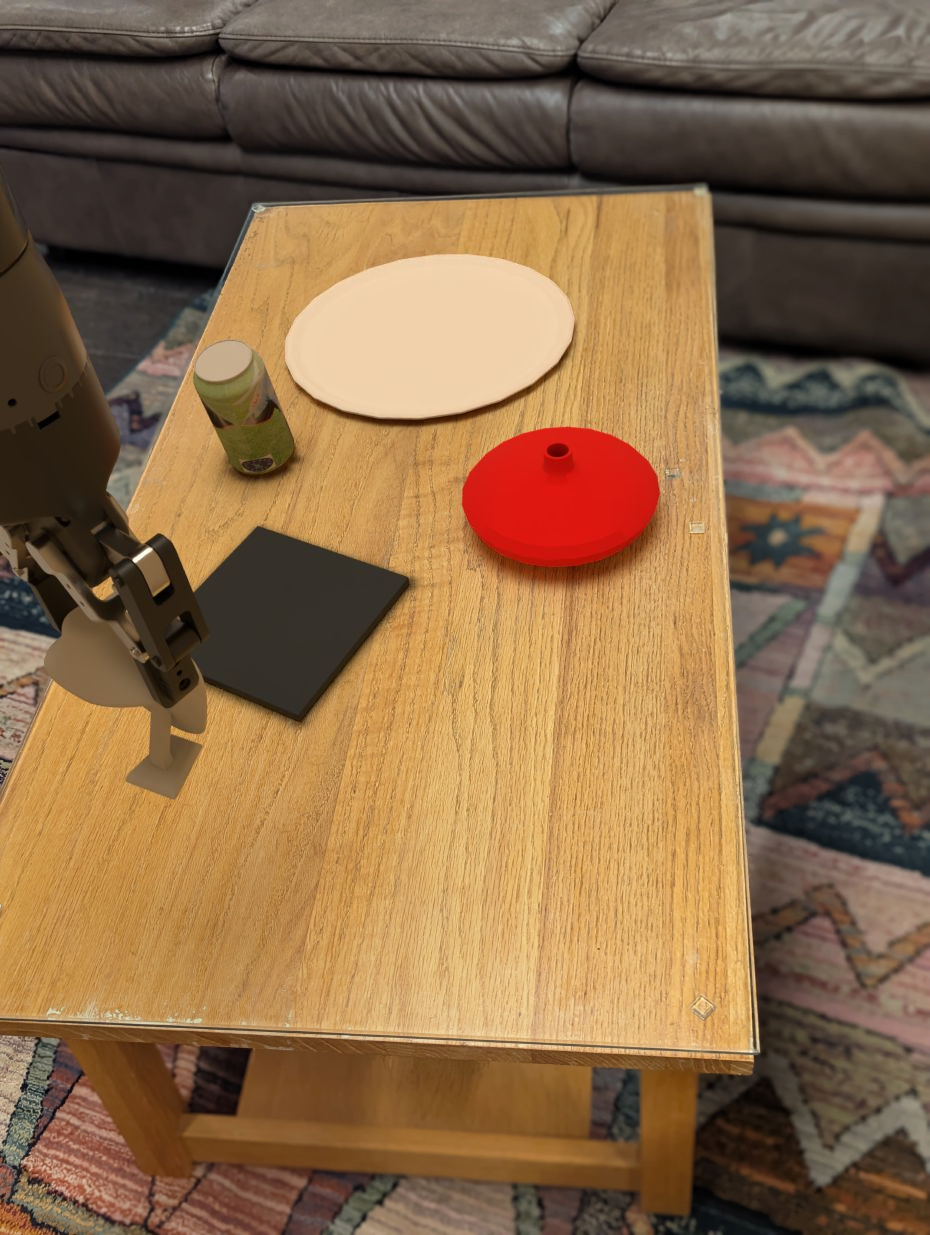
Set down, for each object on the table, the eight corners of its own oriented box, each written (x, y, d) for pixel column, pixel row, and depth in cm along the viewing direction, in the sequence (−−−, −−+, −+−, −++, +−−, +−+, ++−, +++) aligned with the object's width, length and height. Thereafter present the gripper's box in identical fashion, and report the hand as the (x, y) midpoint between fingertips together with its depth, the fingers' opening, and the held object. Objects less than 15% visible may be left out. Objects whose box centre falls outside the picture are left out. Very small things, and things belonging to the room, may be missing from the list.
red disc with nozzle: (479, 455, 95) (472, 388, 90) (662, 458, 92) (665, 389, 87) (450, 583, 84) (440, 515, 79) (655, 591, 81) (658, 522, 76)
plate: (570, 253, 117) (569, 242, 116) (581, 416, 97) (581, 405, 96) (306, 273, 119) (303, 263, 119) (264, 436, 100) (261, 425, 99)
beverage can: (303, 437, 99) (273, 323, 90) (286, 490, 94) (252, 374, 85) (238, 438, 100) (201, 325, 91) (217, 490, 95) (177, 376, 86)
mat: (300, 722, 76) (297, 715, 76) (142, 655, 82) (139, 648, 82) (410, 583, 85) (408, 576, 84) (259, 532, 91) (257, 525, 90)
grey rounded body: (256, 742, 59) (195, 588, 50) (201, 821, 55) (125, 670, 47) (146, 705, 61) (69, 551, 53) (87, 777, 58) (-4, 627, 49)
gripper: (-200, 363, 42) (-20, 642, 54) (7, 496, 35) (160, 782, 47) (-35, 276, 46) (99, 555, 58) (182, 380, 39) (283, 673, 51)
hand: (127, 656), depth 52 cm, fingers closed on grey rounded body, 7 cm apart
